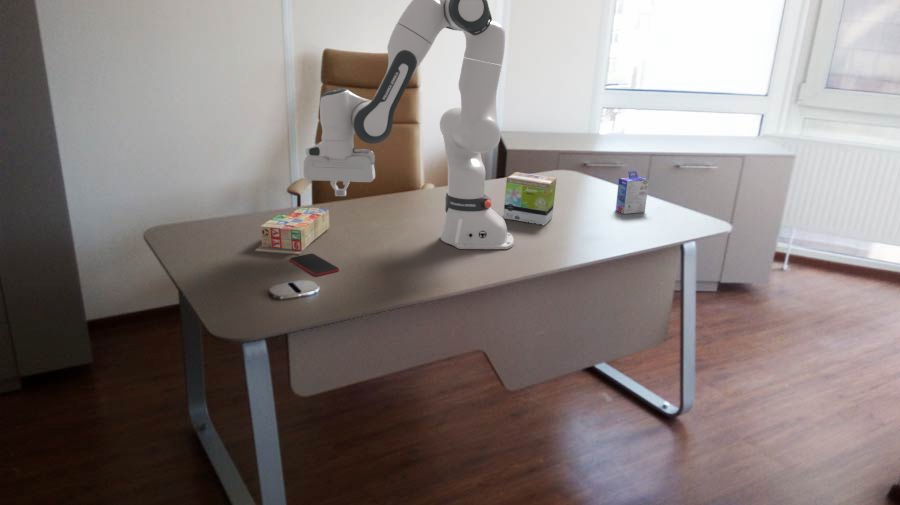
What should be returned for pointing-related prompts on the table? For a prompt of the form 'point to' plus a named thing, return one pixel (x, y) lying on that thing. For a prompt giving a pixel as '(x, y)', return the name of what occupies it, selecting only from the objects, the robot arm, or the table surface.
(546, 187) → the tea box
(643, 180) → the ink cartridge box
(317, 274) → the smartphone
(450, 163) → the robot arm
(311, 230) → the stack of blocks
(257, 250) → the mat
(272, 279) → the table surface
